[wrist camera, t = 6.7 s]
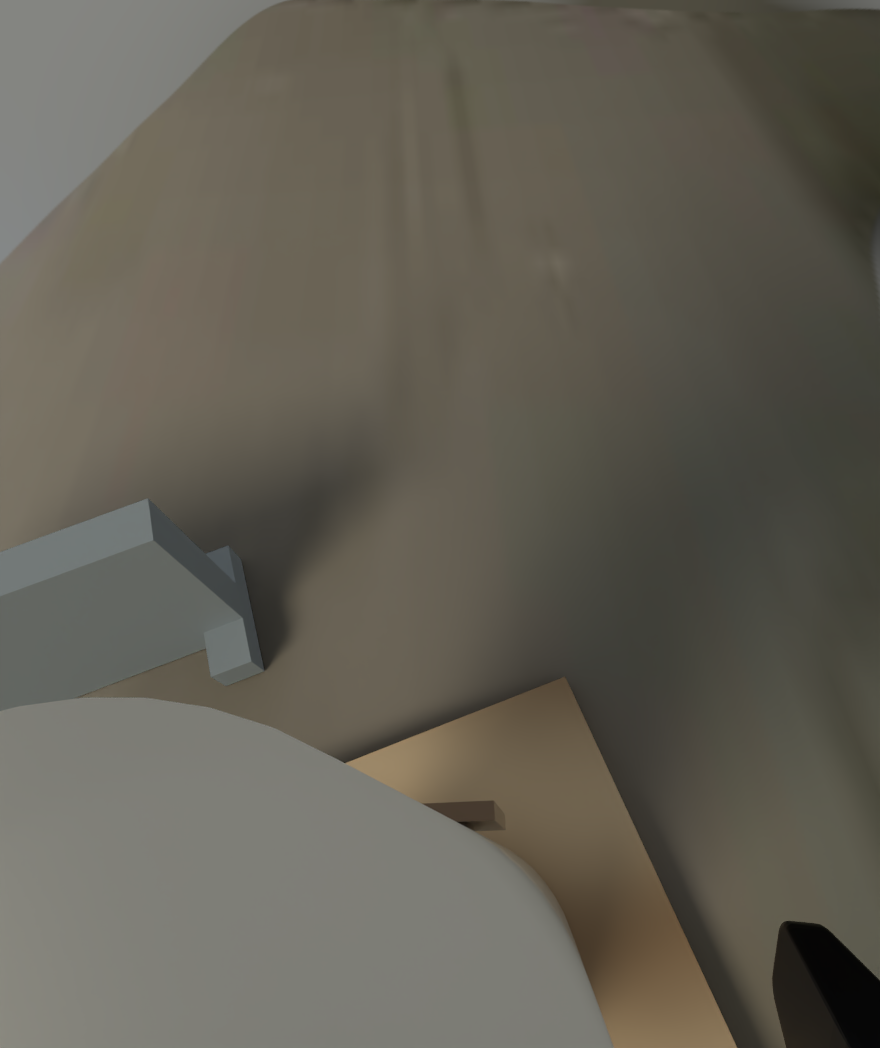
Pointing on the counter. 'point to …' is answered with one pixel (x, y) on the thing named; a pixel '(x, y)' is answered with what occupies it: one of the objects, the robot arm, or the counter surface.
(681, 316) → the counter surface
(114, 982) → the canister
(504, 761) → the mat
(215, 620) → the screen
